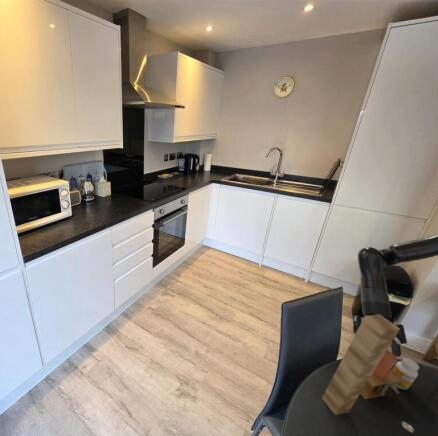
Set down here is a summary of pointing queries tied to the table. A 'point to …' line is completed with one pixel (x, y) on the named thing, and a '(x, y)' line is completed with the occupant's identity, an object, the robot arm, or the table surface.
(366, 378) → the column
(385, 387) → the green toy piece
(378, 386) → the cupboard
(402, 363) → the supplement bottle
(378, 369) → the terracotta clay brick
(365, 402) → the table surface
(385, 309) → the robot arm
